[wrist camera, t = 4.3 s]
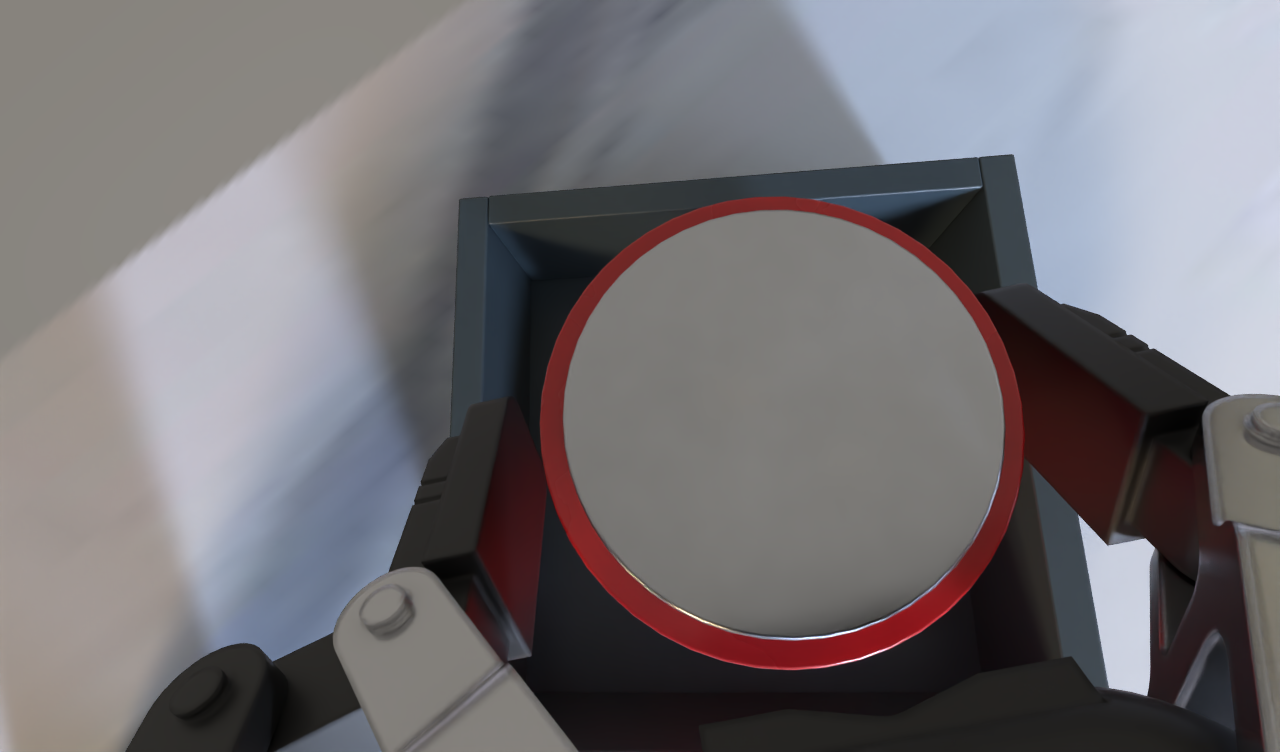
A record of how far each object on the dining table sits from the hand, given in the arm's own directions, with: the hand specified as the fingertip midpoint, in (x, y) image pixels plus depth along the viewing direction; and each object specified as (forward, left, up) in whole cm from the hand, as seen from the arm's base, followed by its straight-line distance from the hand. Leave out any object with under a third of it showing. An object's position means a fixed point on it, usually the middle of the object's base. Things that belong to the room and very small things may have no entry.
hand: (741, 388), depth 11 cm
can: (0, -1, -7) cm, 7 cm away
